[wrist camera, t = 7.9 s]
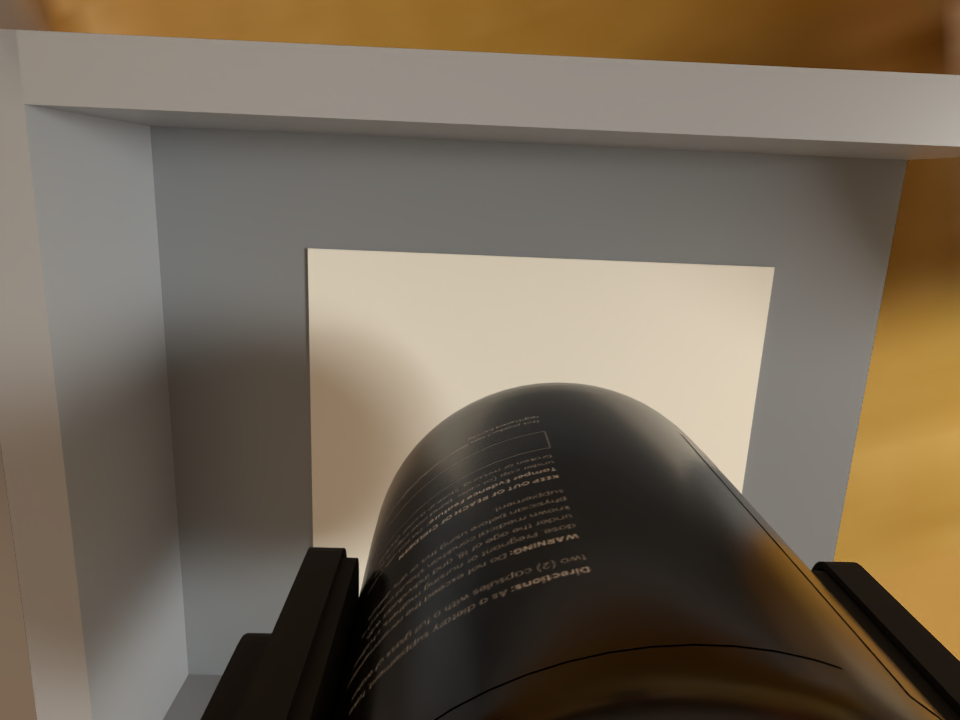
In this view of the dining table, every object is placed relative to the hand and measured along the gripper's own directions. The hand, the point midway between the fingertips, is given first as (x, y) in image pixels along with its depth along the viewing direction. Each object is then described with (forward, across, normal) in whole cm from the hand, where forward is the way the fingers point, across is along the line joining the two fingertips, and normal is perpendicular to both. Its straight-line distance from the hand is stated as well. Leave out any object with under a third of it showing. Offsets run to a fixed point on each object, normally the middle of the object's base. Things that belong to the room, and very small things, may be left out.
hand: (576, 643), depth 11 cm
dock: (+11, +1, 0) cm, 11 cm away
